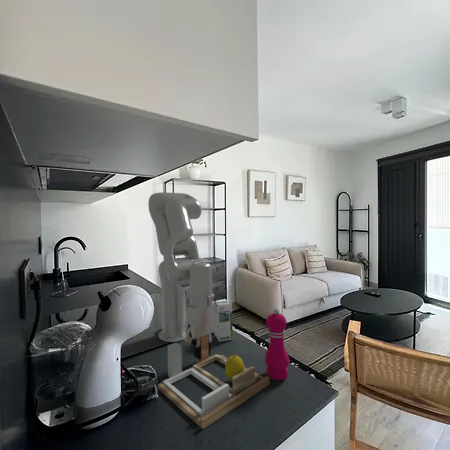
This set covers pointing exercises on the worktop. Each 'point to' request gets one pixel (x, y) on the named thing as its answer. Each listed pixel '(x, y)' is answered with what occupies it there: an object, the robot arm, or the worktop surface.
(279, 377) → the pepper mill
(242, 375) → the frame
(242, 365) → the lemon
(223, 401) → the frame
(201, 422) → the lane bed
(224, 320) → the syrup box
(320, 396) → the worktop surface
